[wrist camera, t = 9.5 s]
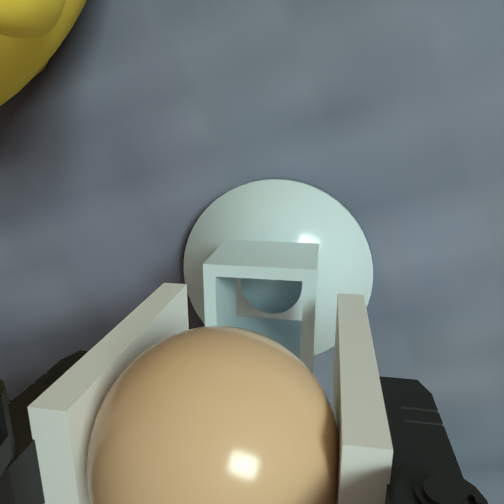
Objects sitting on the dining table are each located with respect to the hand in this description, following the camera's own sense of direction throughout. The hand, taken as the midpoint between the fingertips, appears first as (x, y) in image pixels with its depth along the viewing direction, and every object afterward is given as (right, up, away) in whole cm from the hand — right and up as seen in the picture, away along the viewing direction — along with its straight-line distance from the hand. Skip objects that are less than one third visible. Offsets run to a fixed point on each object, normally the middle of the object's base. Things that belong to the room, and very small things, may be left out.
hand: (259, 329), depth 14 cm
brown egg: (-1, -1, -5) cm, 5 cm away
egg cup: (+1, +2, +5) cm, 6 cm away
